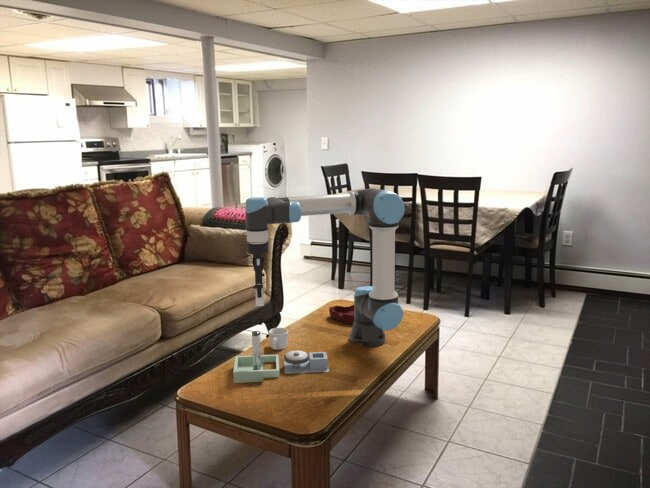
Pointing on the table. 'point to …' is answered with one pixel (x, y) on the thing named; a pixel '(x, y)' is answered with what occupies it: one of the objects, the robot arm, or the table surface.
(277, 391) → the table surface
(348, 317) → the ashtray
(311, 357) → the block
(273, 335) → the cup
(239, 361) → the tray
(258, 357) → the dark capped cylinder
